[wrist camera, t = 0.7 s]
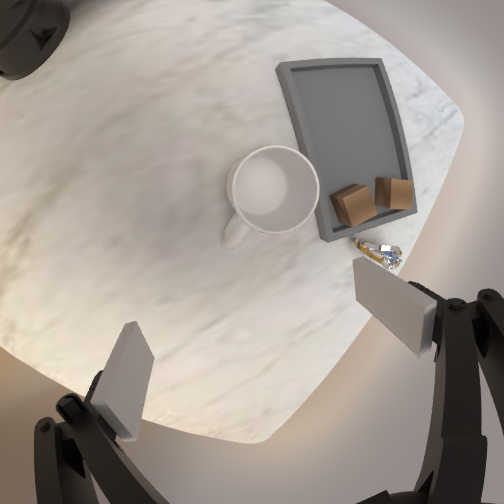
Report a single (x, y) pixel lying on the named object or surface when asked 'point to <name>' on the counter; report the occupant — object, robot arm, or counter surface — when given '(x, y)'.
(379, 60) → the tray
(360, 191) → the block
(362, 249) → the ring
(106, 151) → the counter surface
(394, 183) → the block
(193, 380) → the counter surface
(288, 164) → the cup
